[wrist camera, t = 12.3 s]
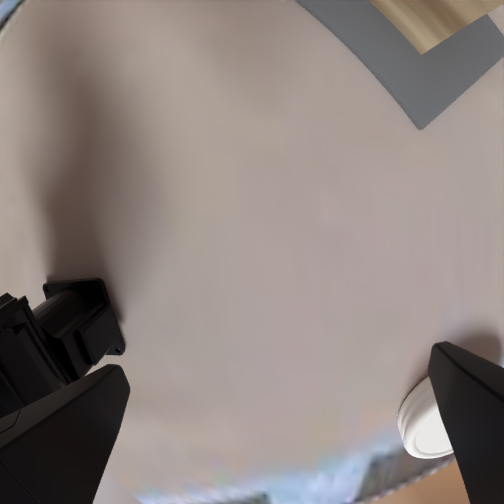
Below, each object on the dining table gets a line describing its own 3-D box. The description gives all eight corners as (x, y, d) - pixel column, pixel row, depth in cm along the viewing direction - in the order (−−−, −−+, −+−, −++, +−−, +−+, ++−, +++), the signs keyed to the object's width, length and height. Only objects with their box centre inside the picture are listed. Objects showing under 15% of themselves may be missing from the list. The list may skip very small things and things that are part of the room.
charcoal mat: (418, 130, 16) (422, 129, 16) (285, -8, 14) (285, -12, 14) (507, 49, 13) (512, 48, 12) (398, -66, 11) (400, -70, 11)
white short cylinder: (442, 344, 21) (459, 370, 17) (505, 368, 21) (521, 389, 17) (375, 428, 24) (382, 456, 20) (444, 439, 24) (454, 462, 20)
